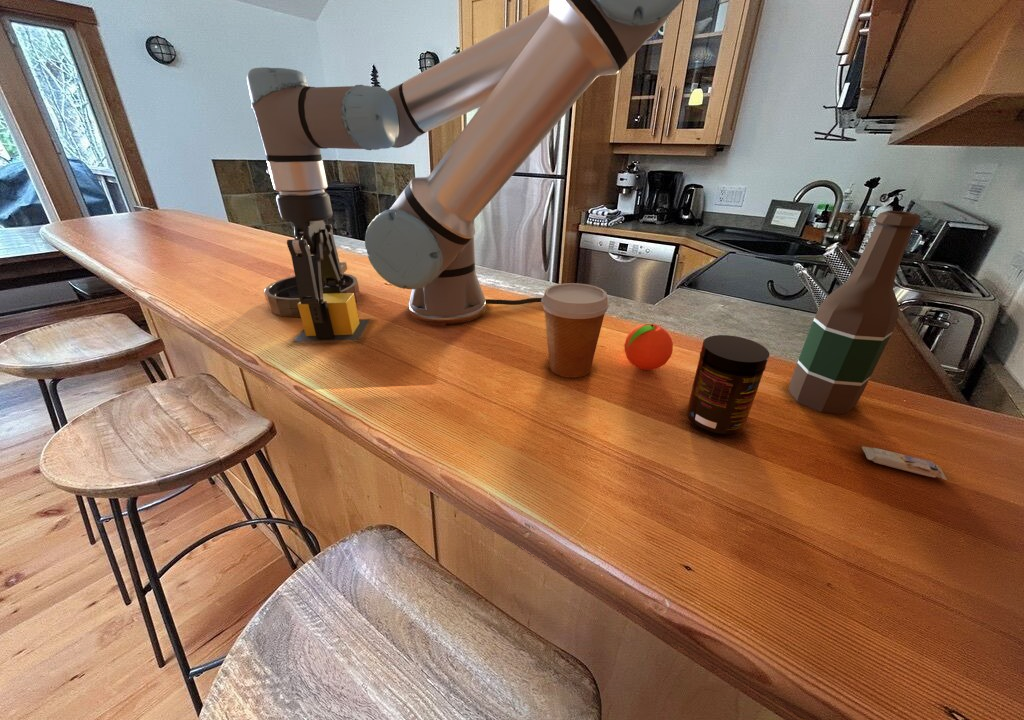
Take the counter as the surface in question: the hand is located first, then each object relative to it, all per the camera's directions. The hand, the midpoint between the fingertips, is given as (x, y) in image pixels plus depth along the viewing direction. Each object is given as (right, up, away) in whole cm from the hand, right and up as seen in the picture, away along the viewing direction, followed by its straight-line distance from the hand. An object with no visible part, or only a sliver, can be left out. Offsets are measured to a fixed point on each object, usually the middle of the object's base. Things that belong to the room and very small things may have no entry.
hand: (332, 328), depth 74 cm
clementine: (+52, -7, -11) cm, 54 cm away
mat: (0, -1, 0) cm, 1 cm away
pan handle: (-10, +15, +25) cm, 30 cm away
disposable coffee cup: (+41, -7, -11) cm, 43 cm away
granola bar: (+74, -17, -30) cm, 82 cm away
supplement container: (+57, -14, -23) cm, 63 cm away
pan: (-9, +6, +13) cm, 17 cm away
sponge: (0, 0, 0) cm, 0 cm away
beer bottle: (+74, -11, -18) cm, 77 cm away
